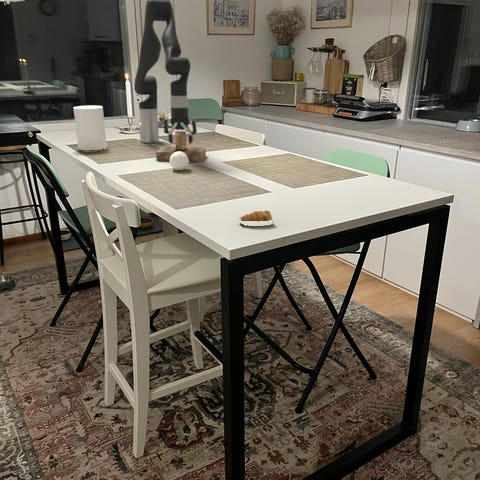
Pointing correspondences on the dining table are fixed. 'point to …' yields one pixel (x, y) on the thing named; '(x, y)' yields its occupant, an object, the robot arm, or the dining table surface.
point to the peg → (180, 140)
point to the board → (191, 152)
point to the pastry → (257, 216)
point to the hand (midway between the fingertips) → (180, 143)
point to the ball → (179, 160)
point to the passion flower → (163, 118)
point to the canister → (90, 127)
